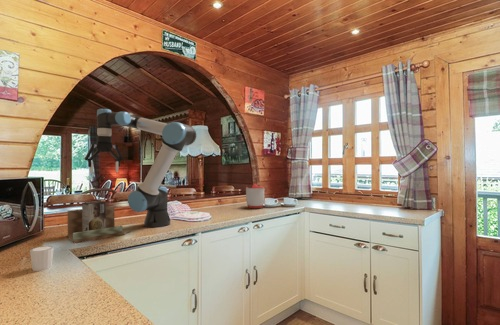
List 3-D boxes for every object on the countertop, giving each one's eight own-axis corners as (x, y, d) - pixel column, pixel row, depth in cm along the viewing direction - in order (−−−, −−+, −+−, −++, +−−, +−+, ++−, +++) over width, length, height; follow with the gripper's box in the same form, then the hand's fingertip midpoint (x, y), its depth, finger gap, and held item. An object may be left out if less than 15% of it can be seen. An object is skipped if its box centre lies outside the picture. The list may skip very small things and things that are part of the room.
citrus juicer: (254, 205, 240) (254, 182, 240) (268, 207, 227) (268, 183, 227) (240, 207, 230) (240, 183, 230) (254, 210, 217) (254, 184, 217)
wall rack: (113, 228, 157) (113, 205, 157) (124, 234, 144) (123, 209, 144) (67, 236, 142) (67, 210, 142) (74, 243, 129) (74, 215, 129)
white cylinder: (28, 268, 99) (28, 248, 99) (52, 263, 104) (51, 244, 104) (31, 273, 94) (31, 252, 94) (55, 268, 99) (55, 248, 99)
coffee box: (99, 230, 150) (99, 200, 150) (106, 231, 146) (106, 201, 146) (81, 234, 142) (81, 202, 142) (88, 235, 139) (88, 203, 139)
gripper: (124, 137, 173) (124, 171, 173) (78, 135, 156) (78, 173, 156) (128, 136, 167) (129, 172, 167) (81, 134, 150) (81, 173, 150)
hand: (104, 172), depth 162 cm, fingers open, 13 cm apart
